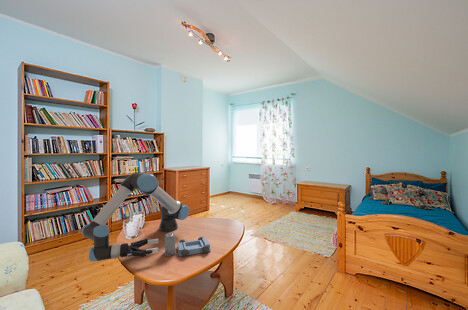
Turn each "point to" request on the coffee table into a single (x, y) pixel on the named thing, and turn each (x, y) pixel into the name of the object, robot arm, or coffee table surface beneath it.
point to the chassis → (193, 247)
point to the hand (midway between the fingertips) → (158, 245)
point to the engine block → (169, 244)
